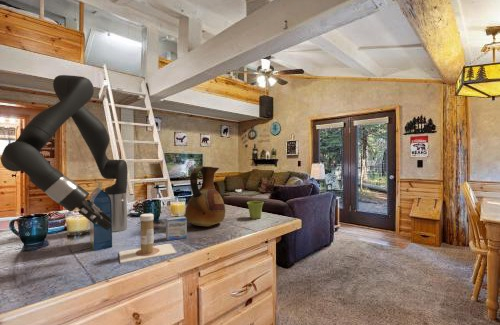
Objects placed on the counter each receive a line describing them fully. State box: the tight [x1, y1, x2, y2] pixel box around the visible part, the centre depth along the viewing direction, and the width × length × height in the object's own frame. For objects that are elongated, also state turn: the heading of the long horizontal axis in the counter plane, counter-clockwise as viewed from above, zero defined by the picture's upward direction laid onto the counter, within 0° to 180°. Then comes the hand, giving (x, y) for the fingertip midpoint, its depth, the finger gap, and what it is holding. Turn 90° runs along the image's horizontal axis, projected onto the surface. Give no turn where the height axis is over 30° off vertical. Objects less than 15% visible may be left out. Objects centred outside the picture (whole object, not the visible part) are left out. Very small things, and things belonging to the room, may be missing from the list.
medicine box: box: [165, 216, 188, 242], centre depth 111 cm, size 8×4×9 cm, turn 117°
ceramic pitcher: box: [184, 165, 226, 227], centre depth 133 cm, size 20×20×30 cm
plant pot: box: [246, 200, 265, 220], centre depth 147 cm, size 9×9×9 cm
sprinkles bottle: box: [139, 213, 155, 254], centre depth 93 cm, size 5×5×14 cm
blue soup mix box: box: [89, 180, 113, 251], centre depth 103 cm, size 6×12×25 cm, turn 37°
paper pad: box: [118, 243, 178, 264], centre depth 94 cm, size 11×18×1 cm, turn 118°
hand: (109, 224), depth 88 cm, fingers open, 8 cm apart
